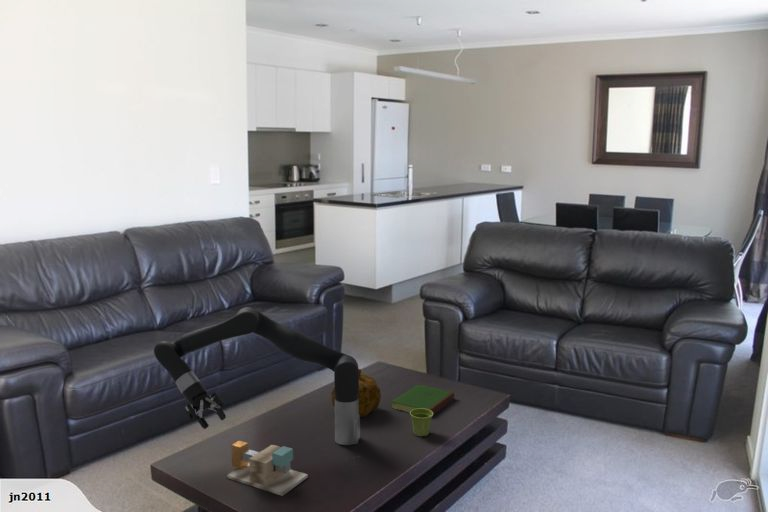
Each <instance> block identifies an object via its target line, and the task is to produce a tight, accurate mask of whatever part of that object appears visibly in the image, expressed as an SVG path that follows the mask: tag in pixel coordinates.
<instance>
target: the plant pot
mask: <svg viewBox="0 0 768 512" xmlns="http://www.w3.org/2000/svg"><path fill="white" fill-rule="evenodd" d="M409 414H410V418H411V423H412V431H413V433H412V434H414V435H415V436H417V437H423V436H424V437H426V436H428V435H429V433H430V427H431V421H432V418H433V416H434V415H433V412H432V411H431V410H429V409H425V408H417V409H413V410H411V411H410V413H409Z"/></svg>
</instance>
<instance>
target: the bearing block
mask: <svg viewBox="0 0 768 512" xmlns="http://www.w3.org/2000/svg"><path fill="white" fill-rule="evenodd" d="M281 447H282V446H279V445H275V444H270V445H269V446H267V447H265V448H264V449H263V450H261V451H258V452H259V453H258V454H256V455H254V456H253V457H251V458H249V465H250V481H252V482H256V483H259V484H262V485H265V486H267V485H268V484H270V483H271V482H273V481H274V480H276V479H277V478H278V477H280V476H281V475H283V474H284V473H282V472H278V471H275V470H274V466H273V463H272V453H273V452H275V451H276V450H278V449H280V448H281Z"/></svg>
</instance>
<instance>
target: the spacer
mask: <svg viewBox="0 0 768 512" xmlns="http://www.w3.org/2000/svg"><path fill="white" fill-rule="evenodd" d="M280 447H281V448H280V449H278V450H276V451H275V452H273V453H272V463H273V465H276V466H280V467H283V466H285V465H286V464H288V463H289V462H292V461H293V460H294V448H292V447H288V446H285V445H283V446H280Z"/></svg>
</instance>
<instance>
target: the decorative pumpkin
mask: <svg viewBox="0 0 768 512" xmlns="http://www.w3.org/2000/svg"><path fill="white" fill-rule="evenodd" d="M358 369H359V415H360V418H364V417H366V416H368V414H369V413H371V412H373V411H375V410H377V409H378V407H379V405H380V402H381V398H382V396H381V395H382V394H381V389H380V388H379V386H378V383H377V381H376V379H374V377H372V376H371V375H367V374H365V373H362V370H361V369H360V368H358ZM333 386H334V387H332V389H333V390H331V393H330V399H331V401H330V402H331V404H332V406H333V408H334V409H335V385H333Z"/></svg>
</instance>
